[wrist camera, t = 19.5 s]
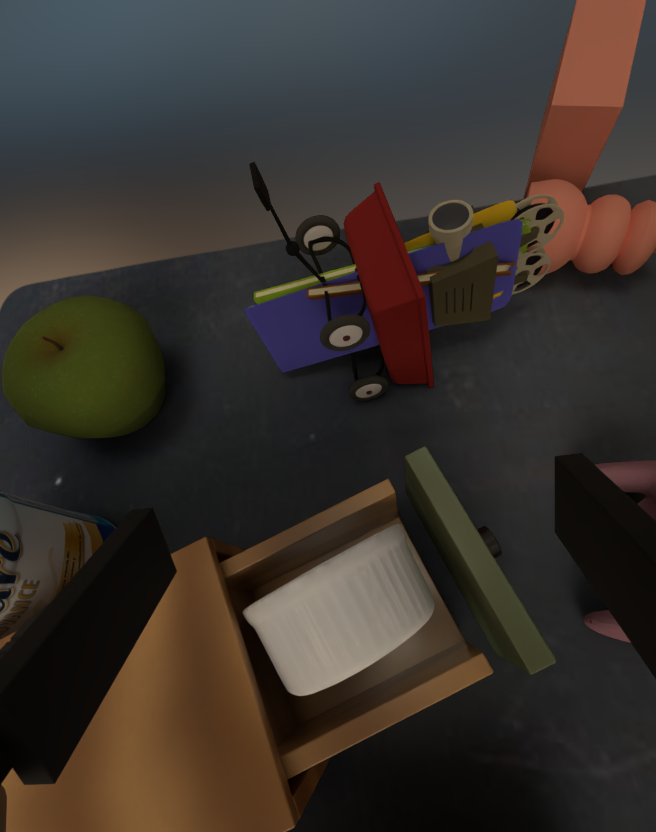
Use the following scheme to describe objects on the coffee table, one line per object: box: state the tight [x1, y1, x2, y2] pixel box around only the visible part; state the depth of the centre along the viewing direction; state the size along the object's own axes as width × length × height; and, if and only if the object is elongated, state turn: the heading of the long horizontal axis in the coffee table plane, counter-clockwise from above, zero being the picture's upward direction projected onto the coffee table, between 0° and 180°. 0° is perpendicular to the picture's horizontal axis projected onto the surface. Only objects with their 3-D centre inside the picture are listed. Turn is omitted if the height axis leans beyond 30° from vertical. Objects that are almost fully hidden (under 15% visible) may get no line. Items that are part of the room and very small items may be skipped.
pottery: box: [523, 0, 656, 276], centre depth 31 cm, size 18×10×10 cm
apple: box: [1, 295, 166, 439], centre depth 31 cm, size 11×10×10 cm
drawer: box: [219, 446, 557, 780], centre depth 22 cm, size 15×10×8 cm
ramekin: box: [242, 524, 434, 696], centre depth 21 cm, size 9×9×4 cm
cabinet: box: [0, 537, 331, 832], centre depth 22 cm, size 14×11×9 cm
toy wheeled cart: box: [243, 162, 564, 401], centre depth 26 cm, size 17×9×20 cm
